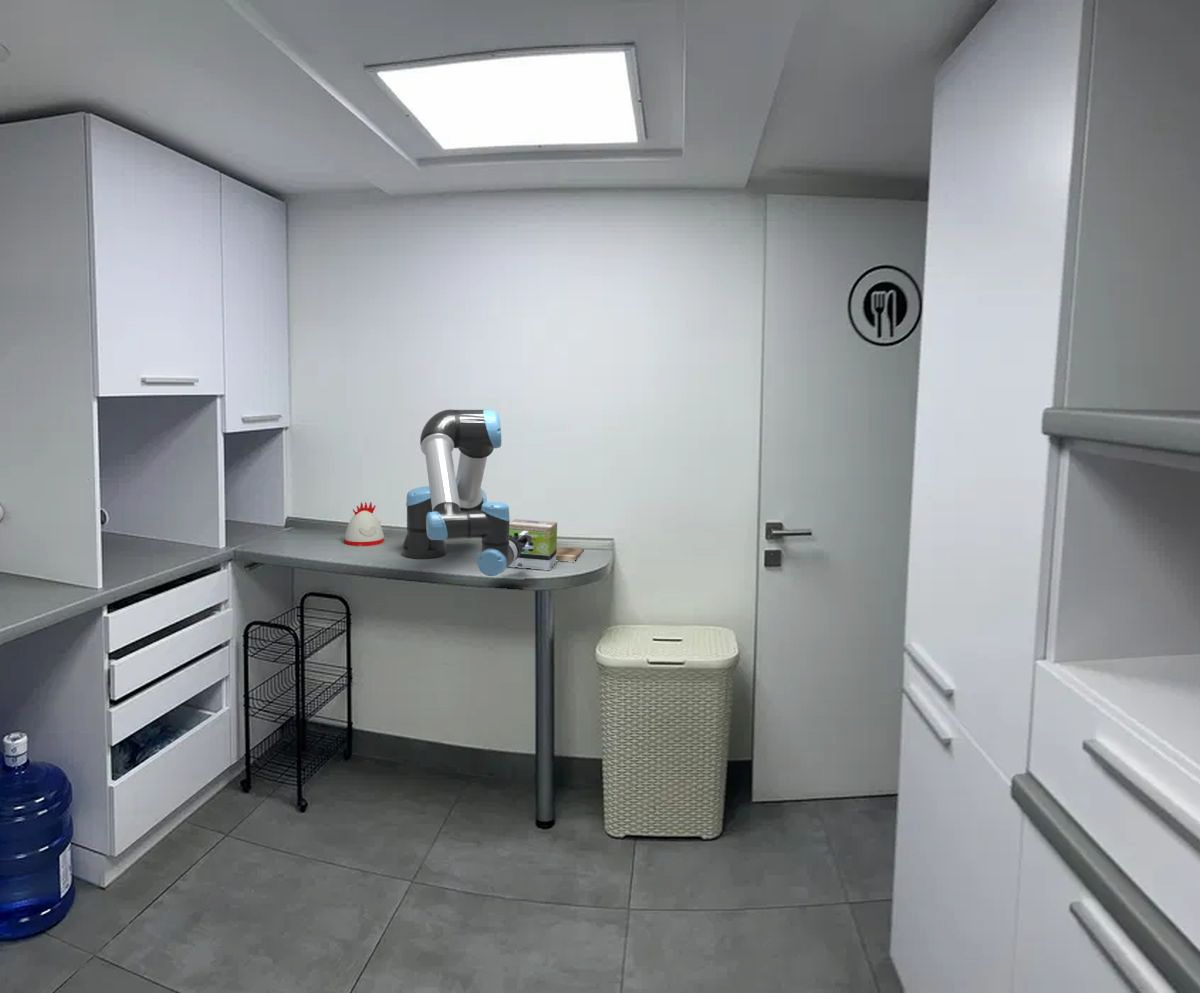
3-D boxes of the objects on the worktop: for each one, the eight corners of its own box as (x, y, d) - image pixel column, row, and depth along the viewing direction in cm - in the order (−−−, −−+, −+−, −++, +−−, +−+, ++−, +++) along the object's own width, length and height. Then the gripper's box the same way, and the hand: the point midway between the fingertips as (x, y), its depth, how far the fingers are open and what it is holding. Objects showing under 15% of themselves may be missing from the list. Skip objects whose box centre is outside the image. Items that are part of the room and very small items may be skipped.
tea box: (505, 568, 247) (505, 523, 245) (513, 561, 257) (514, 518, 255) (549, 571, 245) (550, 526, 242) (557, 564, 254) (557, 520, 252)
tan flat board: (500, 557, 261) (500, 552, 261) (514, 546, 278) (514, 541, 278) (574, 562, 257) (574, 556, 257) (583, 550, 274) (583, 545, 274)
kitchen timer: (388, 544, 277) (387, 504, 275) (349, 547, 270) (348, 506, 268) (379, 537, 289) (378, 498, 287) (341, 540, 282) (340, 500, 280)
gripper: (483, 562, 219) (506, 545, 242) (527, 565, 217) (546, 547, 240) (483, 537, 218) (506, 522, 241) (527, 540, 216) (546, 524, 239)
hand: (526, 534), depth 240 cm, fingers closed
